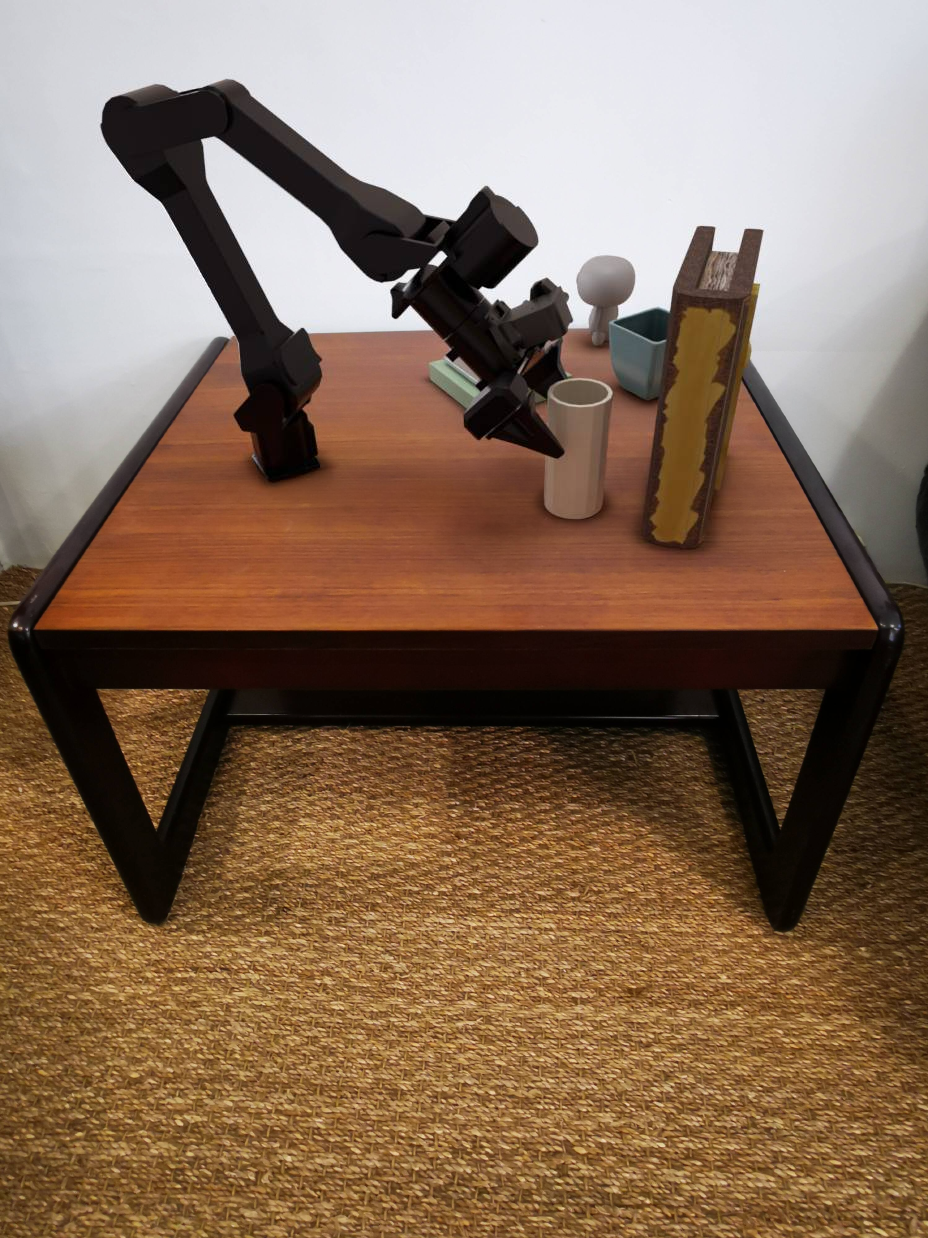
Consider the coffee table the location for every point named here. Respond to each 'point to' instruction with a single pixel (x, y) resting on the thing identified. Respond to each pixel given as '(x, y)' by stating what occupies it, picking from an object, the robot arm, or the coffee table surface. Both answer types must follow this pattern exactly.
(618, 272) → the figurine
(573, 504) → the cup
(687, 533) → the book
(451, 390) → the scale
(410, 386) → the coffee table surface
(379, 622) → the coffee table surface
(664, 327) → the flower pot
